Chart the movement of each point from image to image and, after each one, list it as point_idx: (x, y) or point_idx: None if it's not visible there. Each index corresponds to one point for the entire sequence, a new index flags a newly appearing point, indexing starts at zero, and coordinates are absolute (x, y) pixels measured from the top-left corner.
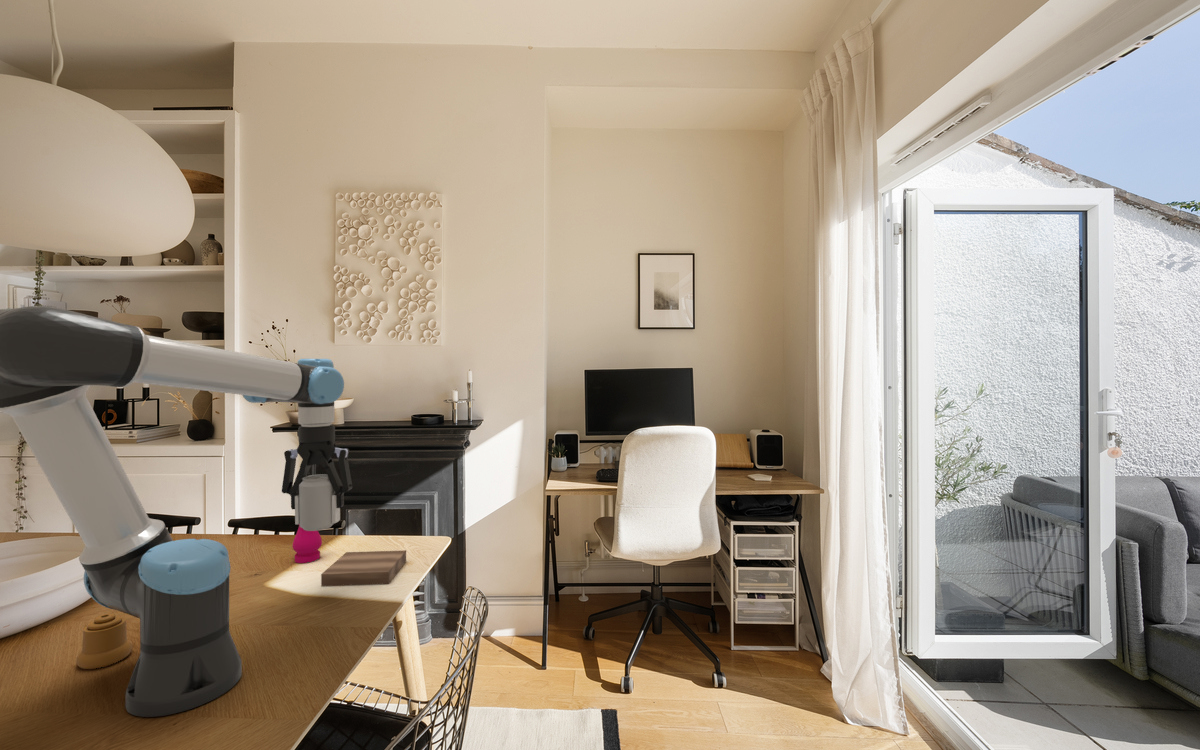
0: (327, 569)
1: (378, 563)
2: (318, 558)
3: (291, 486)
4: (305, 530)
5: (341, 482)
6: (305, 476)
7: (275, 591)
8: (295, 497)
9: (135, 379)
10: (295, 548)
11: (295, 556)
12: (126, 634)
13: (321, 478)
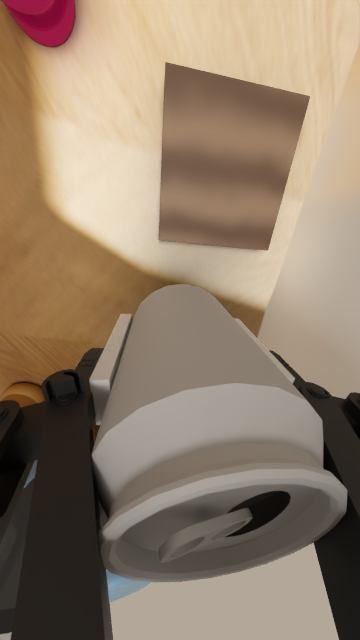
0: (161, 213)
1: (250, 195)
2: (74, 7)
3: (10, 442)
4: None
5: (355, 435)
6: (99, 550)
7: (92, 248)
8: (101, 420)
9: None
10: None
11: (7, 7)
12: (28, 404)
13: (222, 416)
